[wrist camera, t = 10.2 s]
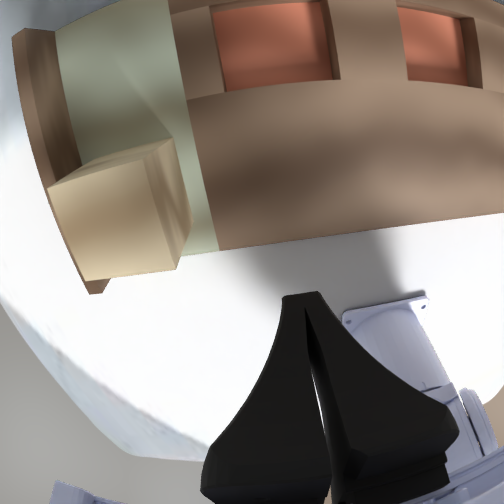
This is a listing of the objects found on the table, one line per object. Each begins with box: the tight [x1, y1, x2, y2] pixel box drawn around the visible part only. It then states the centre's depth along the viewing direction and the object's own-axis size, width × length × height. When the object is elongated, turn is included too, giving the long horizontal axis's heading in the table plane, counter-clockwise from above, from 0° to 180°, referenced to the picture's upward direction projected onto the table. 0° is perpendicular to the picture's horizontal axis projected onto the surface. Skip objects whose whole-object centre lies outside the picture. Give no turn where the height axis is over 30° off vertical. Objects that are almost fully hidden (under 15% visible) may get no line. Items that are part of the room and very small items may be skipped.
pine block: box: [47, 137, 194, 281], centre depth 14 cm, size 5×5×5 cm
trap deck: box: [12, 0, 504, 294], centre depth 13 cm, size 16×37×5 cm, turn 99°
